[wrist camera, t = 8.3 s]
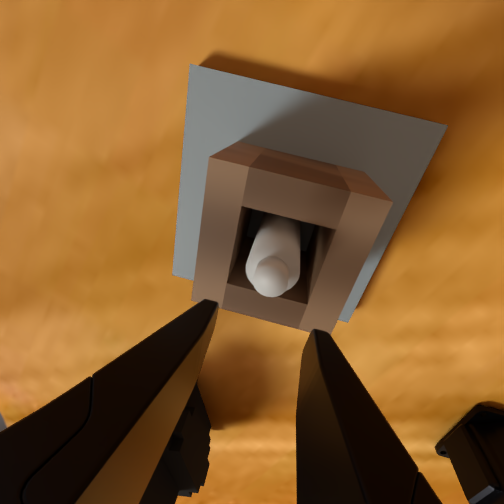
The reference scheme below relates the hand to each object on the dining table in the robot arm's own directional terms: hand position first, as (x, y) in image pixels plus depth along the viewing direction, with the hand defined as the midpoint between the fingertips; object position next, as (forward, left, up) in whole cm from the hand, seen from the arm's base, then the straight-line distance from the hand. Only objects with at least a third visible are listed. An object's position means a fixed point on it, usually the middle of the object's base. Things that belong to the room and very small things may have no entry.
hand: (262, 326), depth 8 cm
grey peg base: (0, 0, -10) cm, 10 cm away
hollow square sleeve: (0, 0, -9) cm, 9 cm away
